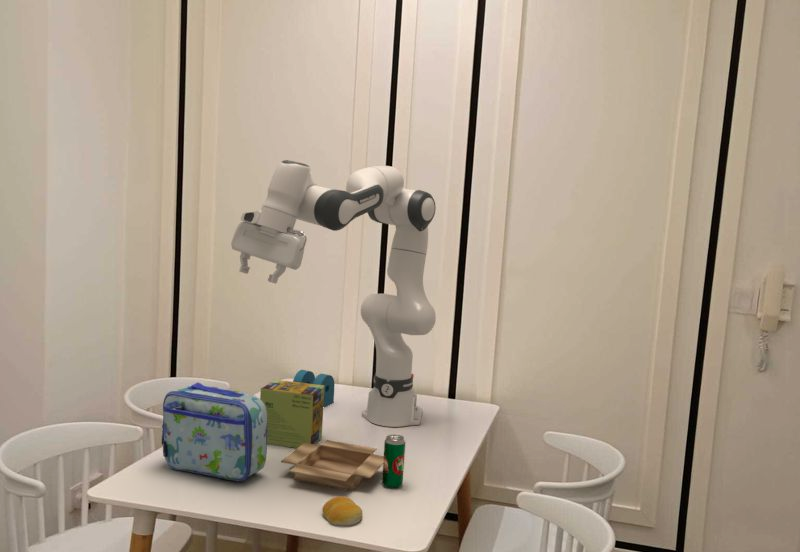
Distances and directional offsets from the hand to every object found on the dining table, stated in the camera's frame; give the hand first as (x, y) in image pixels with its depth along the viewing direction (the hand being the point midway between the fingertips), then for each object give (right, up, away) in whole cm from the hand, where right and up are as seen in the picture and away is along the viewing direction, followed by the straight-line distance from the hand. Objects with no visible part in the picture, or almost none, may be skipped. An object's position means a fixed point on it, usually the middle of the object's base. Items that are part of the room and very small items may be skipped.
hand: (257, 277), depth 175 cm
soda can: (+33, -51, +1) cm, 60 cm away
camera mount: (+4, -42, +58) cm, 71 cm away
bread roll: (+22, -52, -18) cm, 60 cm away
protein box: (+4, -46, +26) cm, 53 cm away
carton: (+18, -49, +5) cm, 53 cm away
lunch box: (-12, -48, +2) cm, 49 cm away
